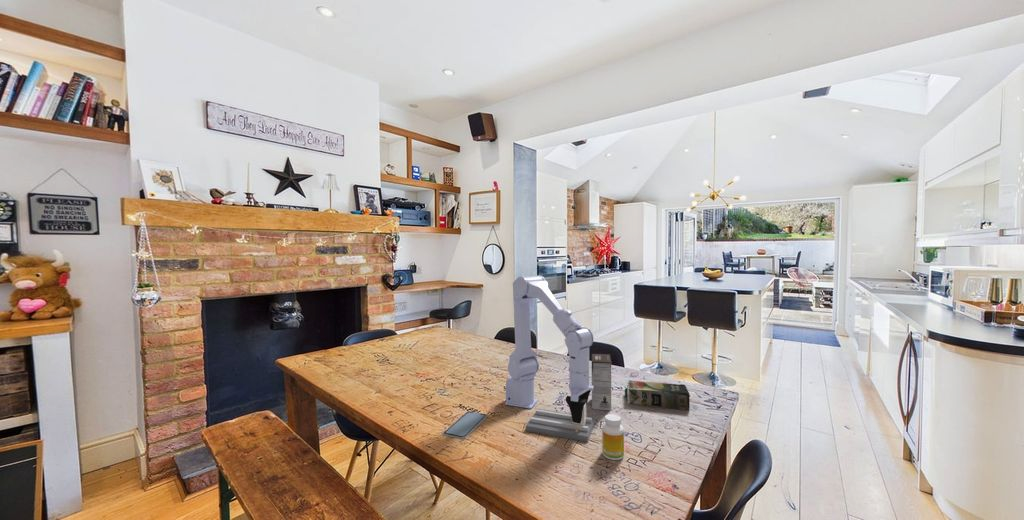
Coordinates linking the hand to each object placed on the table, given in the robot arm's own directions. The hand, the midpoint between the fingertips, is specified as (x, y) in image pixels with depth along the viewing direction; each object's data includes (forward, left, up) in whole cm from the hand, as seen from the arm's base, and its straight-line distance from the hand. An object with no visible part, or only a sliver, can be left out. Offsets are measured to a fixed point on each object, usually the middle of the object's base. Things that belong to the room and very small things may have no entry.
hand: (579, 416), depth 107 cm
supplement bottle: (+10, -10, -4) cm, 15 cm away
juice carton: (+21, +29, -4) cm, 36 cm away
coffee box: (+3, +20, -4) cm, 21 cm away
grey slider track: (-6, 0, -4) cm, 7 cm away
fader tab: (0, 0, -2) cm, 2 cm away
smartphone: (-33, -9, -4) cm, 34 cm away
